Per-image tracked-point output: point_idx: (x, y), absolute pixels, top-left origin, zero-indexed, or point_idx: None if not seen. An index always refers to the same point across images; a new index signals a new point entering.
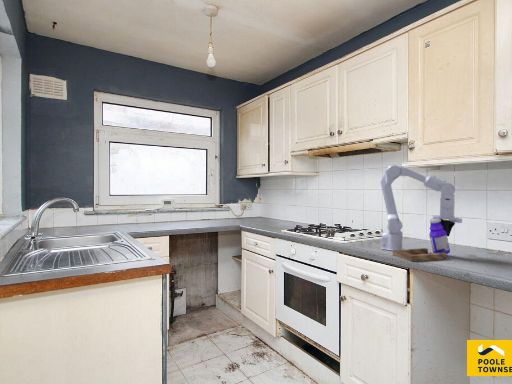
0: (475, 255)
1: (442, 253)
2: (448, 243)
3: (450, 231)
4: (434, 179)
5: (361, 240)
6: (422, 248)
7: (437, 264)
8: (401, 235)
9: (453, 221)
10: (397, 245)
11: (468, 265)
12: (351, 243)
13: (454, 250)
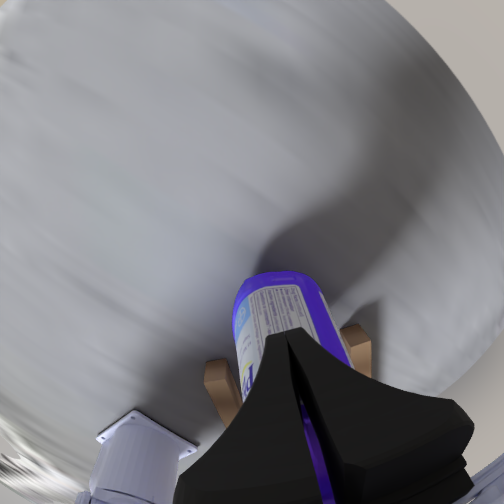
0: (263, 51)
1: (362, 358)
2: (335, 325)
3: (330, 355)
4: None
5: (10, 429)
6: (214, 399)
7: (416, 391)
8: (158, 497)
9: (496, 471)
10: (176, 467)
11: (460, 285)
12: (78, 478)
13: (99, 101)
